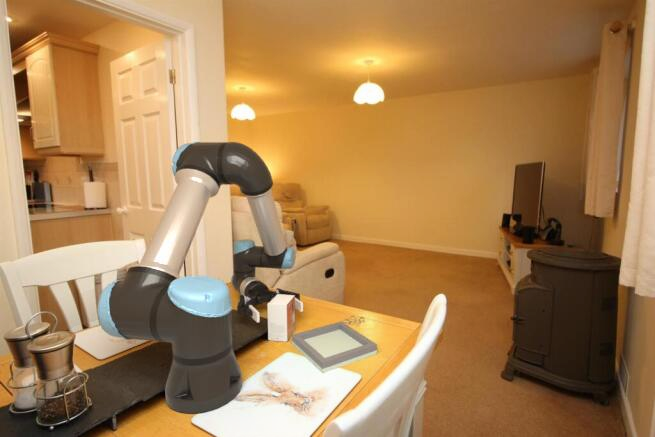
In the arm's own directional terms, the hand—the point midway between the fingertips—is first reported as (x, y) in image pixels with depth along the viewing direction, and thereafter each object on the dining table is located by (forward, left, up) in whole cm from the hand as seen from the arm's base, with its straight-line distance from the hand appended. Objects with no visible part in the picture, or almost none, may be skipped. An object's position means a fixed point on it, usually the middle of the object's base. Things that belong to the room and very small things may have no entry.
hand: (280, 312), depth 98 cm
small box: (-1, -2, -6) cm, 6 cm away
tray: (+7, -16, -6) cm, 19 cm away
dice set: (+21, -7, -7) cm, 23 cm away
